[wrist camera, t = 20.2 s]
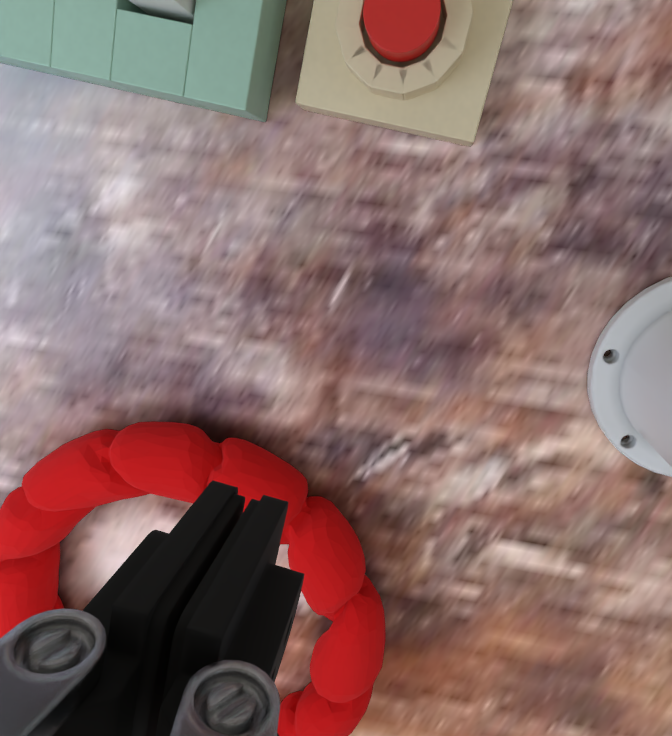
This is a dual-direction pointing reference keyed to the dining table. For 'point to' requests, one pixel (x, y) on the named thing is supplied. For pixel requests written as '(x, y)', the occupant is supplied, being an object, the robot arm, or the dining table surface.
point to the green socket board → (152, 49)
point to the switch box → (404, 70)
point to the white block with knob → (169, 9)
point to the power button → (401, 26)
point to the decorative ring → (186, 483)
